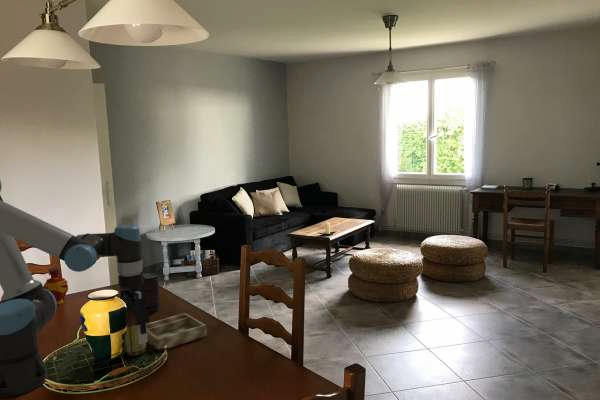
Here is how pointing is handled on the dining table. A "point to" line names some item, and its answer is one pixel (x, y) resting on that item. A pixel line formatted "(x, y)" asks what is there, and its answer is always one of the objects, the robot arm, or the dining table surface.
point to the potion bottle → (56, 285)
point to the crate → (175, 331)
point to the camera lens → (150, 291)
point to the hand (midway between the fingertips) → (134, 336)
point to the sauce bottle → (132, 332)
